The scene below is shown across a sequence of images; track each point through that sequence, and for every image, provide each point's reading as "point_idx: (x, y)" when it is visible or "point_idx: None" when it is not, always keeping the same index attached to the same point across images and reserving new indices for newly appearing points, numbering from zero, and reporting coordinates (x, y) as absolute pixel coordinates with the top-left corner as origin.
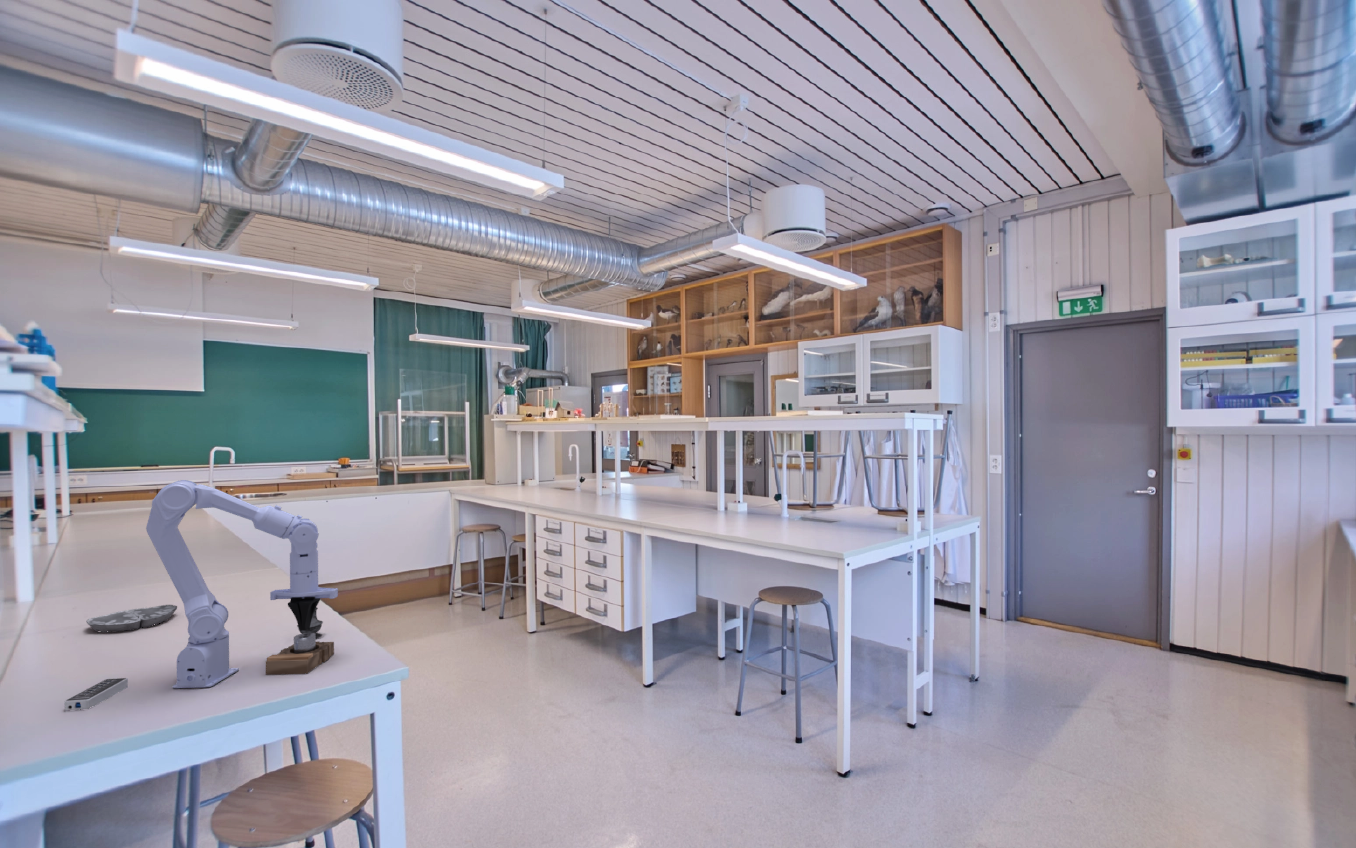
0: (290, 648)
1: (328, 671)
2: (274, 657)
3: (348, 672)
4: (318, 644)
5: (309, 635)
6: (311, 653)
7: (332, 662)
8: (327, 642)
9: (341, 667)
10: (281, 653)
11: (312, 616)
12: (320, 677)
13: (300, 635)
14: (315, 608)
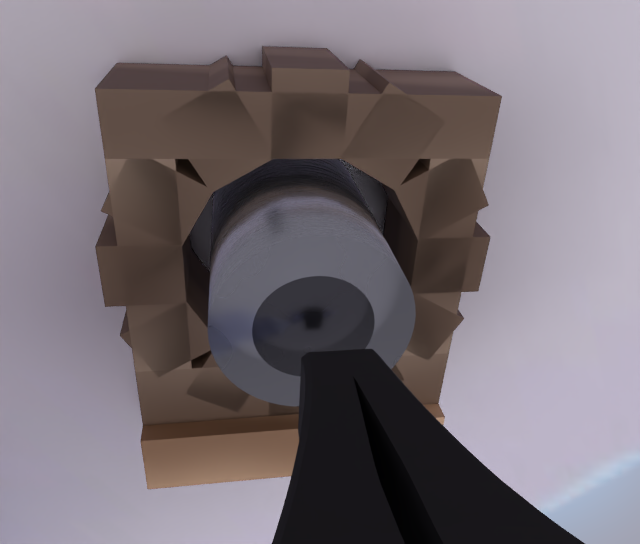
0: (157, 255)
1: (507, 366)
2: (201, 482)
3: (613, 377)
4: (378, 166)
5: (365, 325)
6: (406, 360)
7: (491, 240)
8: (446, 115)
9: (565, 317)
10: (161, 362)
11: (450, 433)
12: (488, 430)
13: (262, 322)
14: (560, 532)
